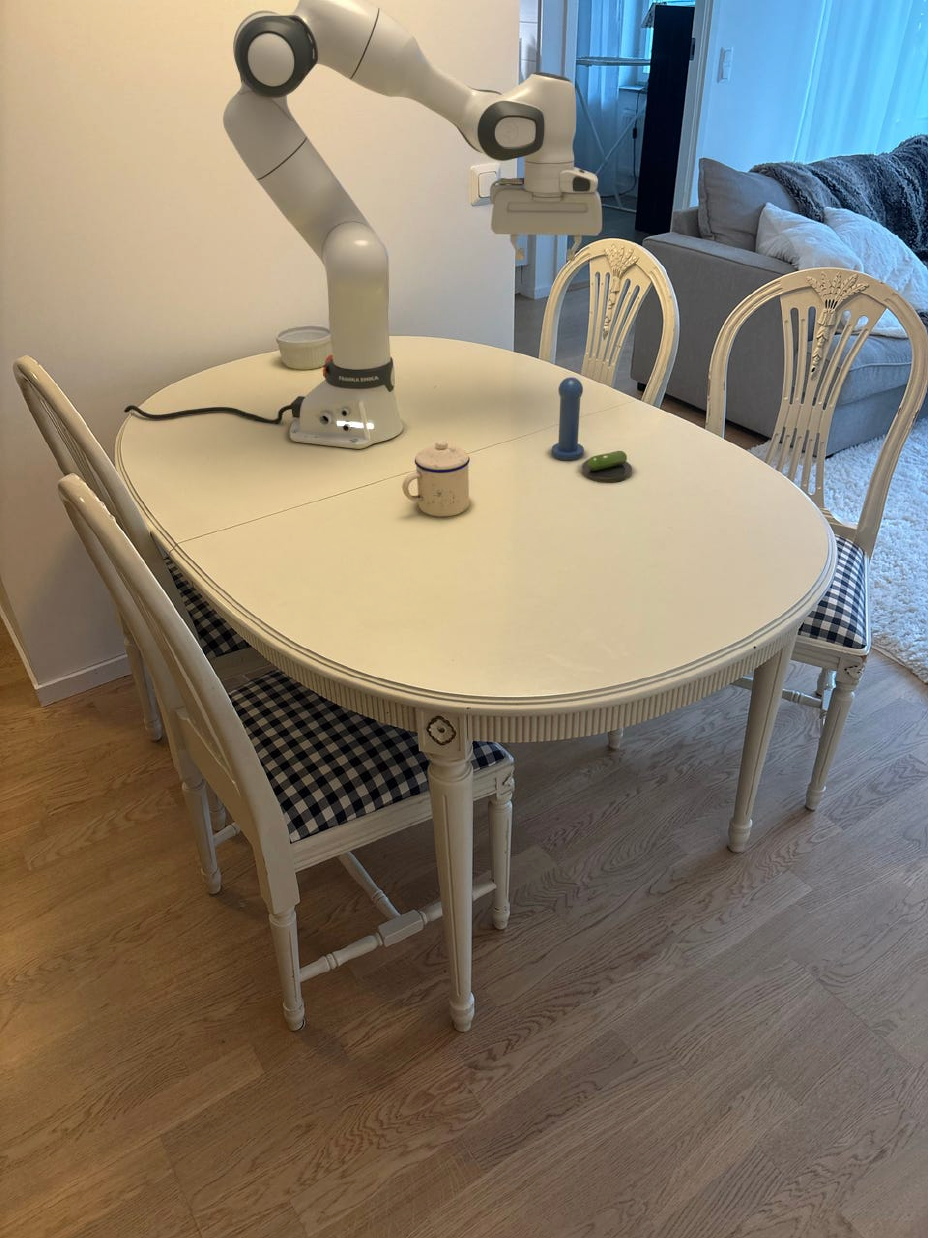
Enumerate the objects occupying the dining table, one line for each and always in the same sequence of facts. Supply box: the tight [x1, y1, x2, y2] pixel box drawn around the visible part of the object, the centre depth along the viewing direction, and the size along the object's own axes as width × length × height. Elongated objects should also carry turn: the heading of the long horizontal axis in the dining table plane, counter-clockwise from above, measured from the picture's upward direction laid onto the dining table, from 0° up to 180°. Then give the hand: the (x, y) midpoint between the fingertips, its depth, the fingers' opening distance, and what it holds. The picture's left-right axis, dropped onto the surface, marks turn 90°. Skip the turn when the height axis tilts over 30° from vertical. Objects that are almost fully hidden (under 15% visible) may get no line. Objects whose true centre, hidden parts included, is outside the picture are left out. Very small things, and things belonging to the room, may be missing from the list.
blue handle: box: [551, 376, 585, 462], centre depth 167 cm, size 6×6×15 cm
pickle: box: [581, 450, 633, 483], centre depth 164 cm, size 9×9×3 cm
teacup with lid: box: [401, 439, 471, 517], centre depth 151 cm, size 12×9×12 cm
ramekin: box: [275, 324, 332, 371], centre depth 215 cm, size 13×13×7 cm
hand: (545, 259), depth 170 cm, fingers open, 8 cm apart
